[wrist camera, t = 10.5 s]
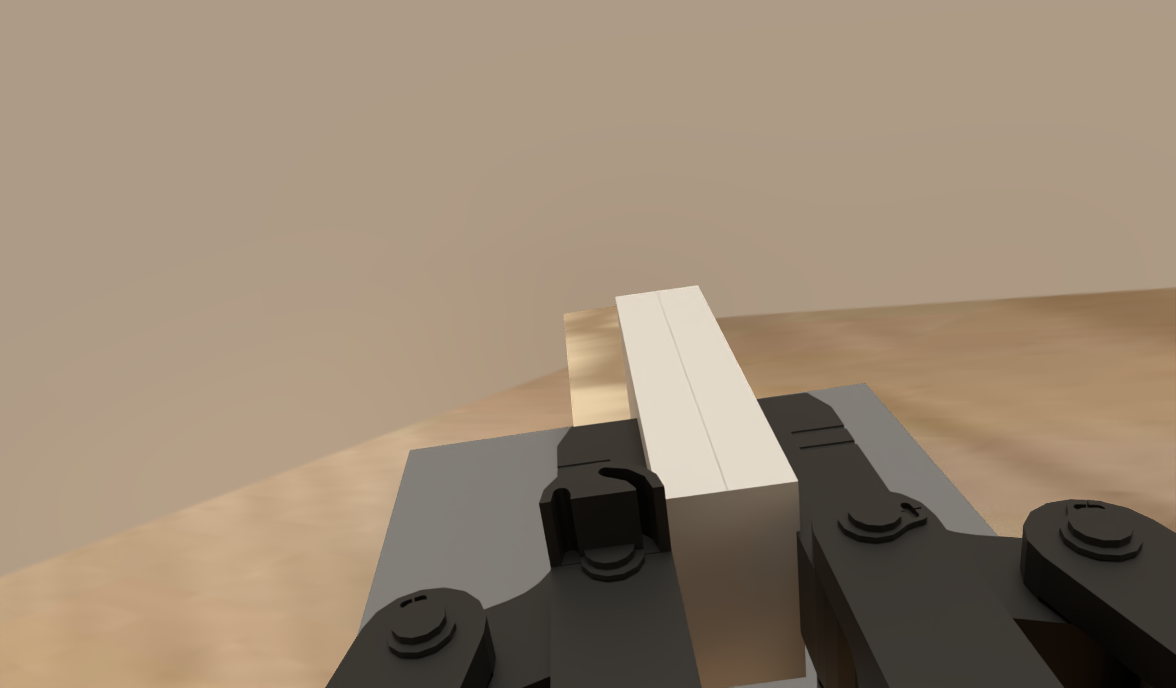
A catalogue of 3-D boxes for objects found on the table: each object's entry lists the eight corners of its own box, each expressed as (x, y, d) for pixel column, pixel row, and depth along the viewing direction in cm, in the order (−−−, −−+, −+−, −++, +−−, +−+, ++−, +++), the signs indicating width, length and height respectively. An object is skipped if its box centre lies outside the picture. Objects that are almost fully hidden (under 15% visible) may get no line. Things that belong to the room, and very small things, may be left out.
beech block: (778, 622, 23) (692, 402, 36) (770, 471, 21) (682, 296, 34) (604, 647, 23) (580, 418, 36) (580, 500, 21) (563, 313, 34)
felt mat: (865, 403, 36) (865, 383, 36) (1286, 914, 16) (1297, 879, 15) (414, 469, 36) (409, 450, 36) (259, 1067, 16) (244, 1036, 15)
